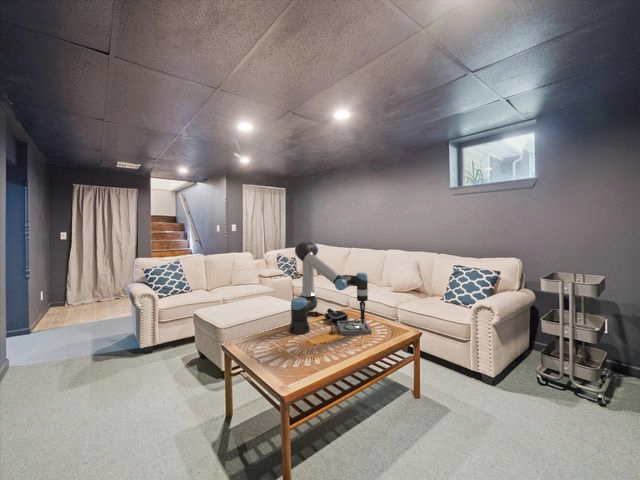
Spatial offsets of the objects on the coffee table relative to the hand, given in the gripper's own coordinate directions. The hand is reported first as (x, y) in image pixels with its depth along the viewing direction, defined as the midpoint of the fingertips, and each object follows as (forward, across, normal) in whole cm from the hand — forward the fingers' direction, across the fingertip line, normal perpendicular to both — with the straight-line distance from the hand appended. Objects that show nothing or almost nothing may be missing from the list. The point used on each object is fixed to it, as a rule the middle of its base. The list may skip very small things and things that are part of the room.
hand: (362, 327), depth 208 cm
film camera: (+5, +26, +22) cm, 35 cm away
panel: (+4, +8, +7) cm, 11 cm away
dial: (+3, +8, +6) cm, 11 cm away
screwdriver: (+4, +4, +21) cm, 22 cm away
